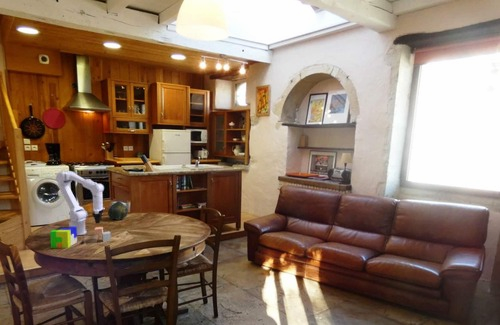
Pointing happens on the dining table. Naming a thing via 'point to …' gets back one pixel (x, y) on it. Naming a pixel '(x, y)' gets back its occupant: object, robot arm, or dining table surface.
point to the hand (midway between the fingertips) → (98, 221)
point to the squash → (118, 211)
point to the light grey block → (106, 236)
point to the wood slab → (91, 239)
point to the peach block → (98, 231)
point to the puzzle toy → (63, 237)
